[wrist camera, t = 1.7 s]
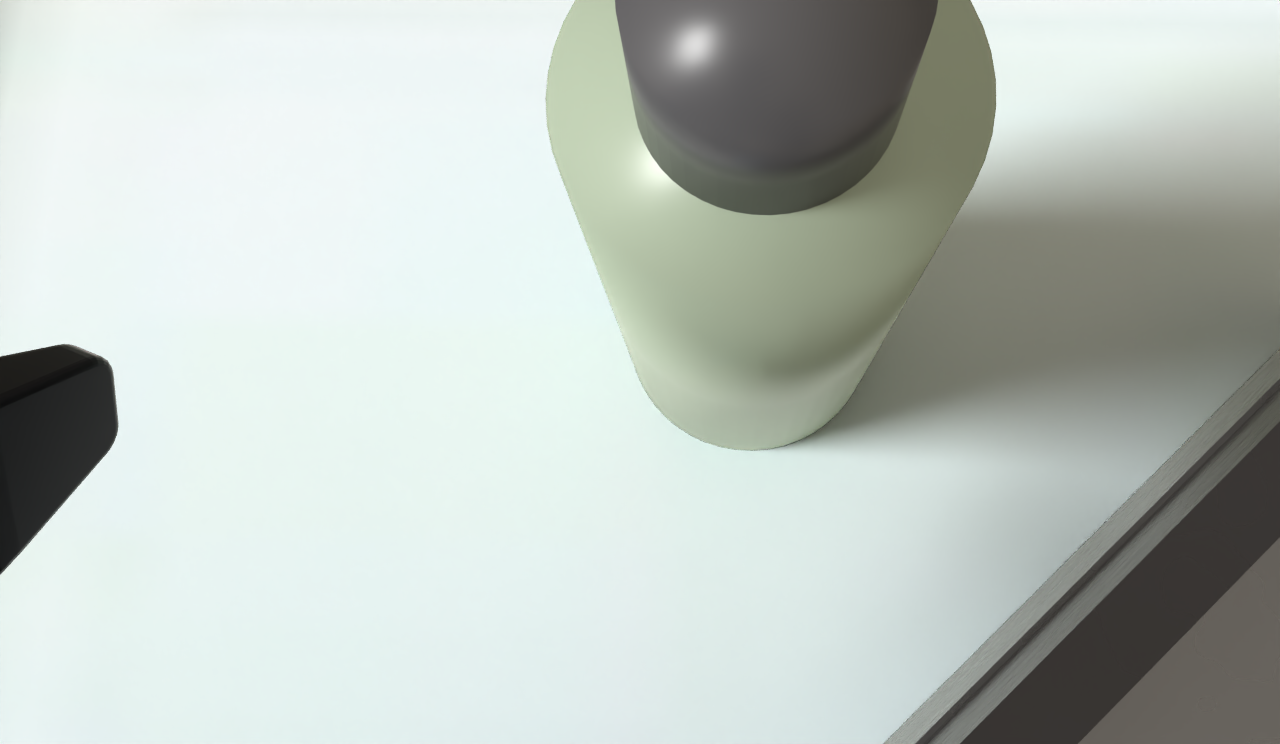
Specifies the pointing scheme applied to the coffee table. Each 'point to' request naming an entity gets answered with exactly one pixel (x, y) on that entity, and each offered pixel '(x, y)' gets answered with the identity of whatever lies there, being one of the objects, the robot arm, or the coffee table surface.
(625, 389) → the coffee table surface
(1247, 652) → the grey tray with cylinder
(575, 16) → the pale green bottle
